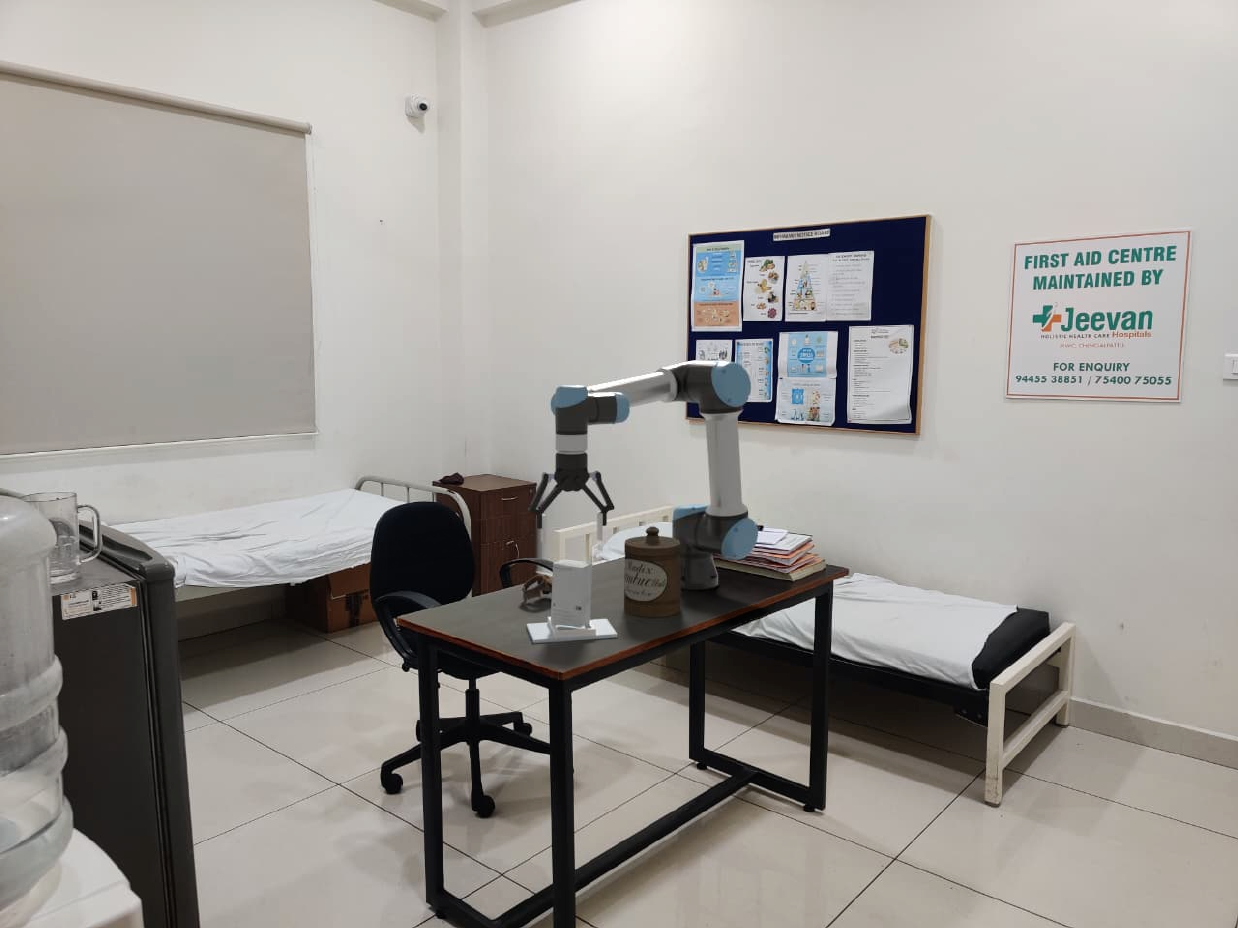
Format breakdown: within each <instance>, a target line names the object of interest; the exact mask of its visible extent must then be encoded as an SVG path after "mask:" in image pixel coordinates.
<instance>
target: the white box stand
mask: <svg viewBox="0 0 1238 928" xmlns="http://www.w3.org/2000/svg"><path fill="white" fill-rule="evenodd" d="M526 629H527V631H528V634H529V636H530V638H531V641H532V643H533V644H541V643H554V642H555V643H556V642H557V643H558V642H570V641H584V640H594V639H595V640H597V639H612V638H618V633H617V631H616V629H615V628H614V627H613V625H612V624H611V623H610V621H609V620H608V618H596V619H595V618H594V619H590V622H588V623H587V624H585V625H584V626H582V627H581V628H578V627H573V626H565V625H558V624H551V616H547V622H537V623H536V622H534V623H526Z"/></svg>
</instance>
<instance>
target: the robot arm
mask: <svg viewBox="0 0 1238 928" xmlns="http://www.w3.org/2000/svg"><path fill="white" fill-rule="evenodd" d="M751 391H752V383H751V378H750V376H749V373H748V371H747V370H746V369H745V368H744V367H743V366H742V364H740V363H737V362H735V361H729V360H702V359H701V360H699V359H695V360H690V361H685V362H680V363H677V364H673V365H669V366H666V367H661V368H660V367H659V368H658V369H657V370H656V371H655V372H654V373H650V374H644V375H640V376H635V377H629V378H626V379H625V378H624V379H620V380H616V381H611V382H606V383H601V384H597V385H596V384H595V385H591V386H586V385H571V384H570V385H560V386H558V387H556V390H555V393H554V394H553V395H552V396H551V399H550V410H551V412H552V414H553V415H554V417H555V418H554V419H555V420H554V421H555V422H554V423H555V451H557V452H556V453H555V470H554V473H547V472H545V471H543V472H542V474H541V480H540V483H539V485H538V488H537V490H536V492H535V493H534V495H533V498H532V500H531V501H530V504H529V506H528V508H527V510H528V511H529V513H531V514H534V515H535V520H536V521H535V522H536V523H535V524H536V525H535V526H536V529H538V530H540V542H541V543H542V544H546V543H547V541H546V540H547V539H546V535H547V534H546V531H547V530H546V522H547V521H546V514H545V513H544V512H546V510H547V509H548V508H549V506H551V504H552V503H553V501H555V499H557V497H558V496H559V495H560V494H561V493H562V492H565V493H569V492H575V493H576V492H578V493H579V492H580V491H581V490H582V491H583V492H584V493H585V494H586V495H587V496H588V498H589V499H591V501H592V503H594V504H595V506H596V507H597V508H598V510H599V511H596V539H597V540H598V541H601V542H602V541H603V529H604V528H603V527H606V526H607V523H608V521H607V520H608V519H607V517H608V512H610V511H613V510H615V507H616V506H615V505H614V503H613V501H612V499H611V497H610V495H609V493H608V491H607V489H606V487H605V484H604V482H603V481H602V479H603V478H602V473H601V472H600V471H598V470H595V471H592V472H589V470H588V465H589V464H588V461H589V459H588V453H587V452H586V451H587V450H588V449H589V448H588V447H589V446H588V445H589V444H588V439H589V436H588V433H589V431H588V428H589V426H593V425H594V426H595V425H597V426H598V425H616V424H621V423H623V422H625V421H627V420H628V418H629V416H630V412H631V410H630V409H631V408H634V407H638V406H642V405H647V404H652V403H656V402H662V403H664V404H668V403H674V402H682V403H683V402H685V403H692V404H693V403H694V404H698V408H699V410H698V411H699V414H700V416H702V417H703V418H704V419H705V434H706V446H707V447H706V450H707V451H706V452H707V463H708V464H707V465H708V481H709V498H710V501H709V503H695V504H694V503H693V504H685V505H684V504H683V505H680V506H679V505H678V506H675V508H674V509H673V513H672V520H671V521H672V524H671V525H672V527H671V528H672V529H671V530H672V534H671V535H672V536H671V538H675V539H677V540H679V541H680V567H681V590H690V591H692V590H693V591H701V590H709V589H713V588H715V587H717V586H718V585H719V574H718V571H717V569H716V564H715V561H714V557H713V555H716V556H720V557H723V558H725V559H733V560H740V559H741V560H742V559H744V558H746V557H747V556H749V554H750V553H752V551H753V550H754V548H755V547H756V544H757V541H758V538H759V528H758V525H757V523H756V521H754V520H753V519H752V518H749V508H748V506H747V505H746V504H745V503H743V498H742V497H743V496H742V479H741V478H742V476H741V461H740V460H741V459H740V458H741V457H740V439H739V421H738V420H739V419H738V417H739V415H741V413H742V412H743V411H744V407H743V405H745V404H746V403H747V402H748V400H749V396H750V395H751ZM590 479H591V480H592V481H594V482H595V484H596V487H597V488H598V490H599V493H600V494H601V496H602V498H603V501H604V502H605V505H604V504H603V503H602V502H601V501H600V499H599V498H598V497H597V496H596V495H595V493H594V492H593V491H592V490H591V489H590V488H589V487H588V486H587V482H588V481H589V480H590ZM552 480H554V481H555V483H556V484H555V485H554V487H553V489H552V490H551V491H550V493H549V494H548V495H547V496H546V497H545V499H544V500H543V501H542V502H541V500H542V497H543V495H544V493H545V491H546V490H547V487H548V484H549V483H551V482H552ZM540 502H541V503H540ZM539 503H540V505H539ZM538 505H539V506H538Z"/></svg>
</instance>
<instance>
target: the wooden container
mask: <svg viewBox="0 0 1238 928" xmlns="http://www.w3.org/2000/svg"><path fill="white" fill-rule="evenodd" d="M659 533H660V529H659V528H658V527H656V526H653V525H652V526H649V527H647V528H646V530H645V534H646V535H643V536H642V535H641V536H634V537H631V538H627V539H626V540H624V552H623V553H624V571H623V573H624V575H623V577H624V578H623V608H624V609H623V610H624V611H625V612H627V613H628V614H631V615H633V616H638V617H641V618H642V617H643V618H665V617H669V616H673V615H676V614H678V613H679V612H680V611H681V597H682V596H681V594H682V589H681V567H680V541H679V540H677V539H675V538H672V536H671V537H670V536H663V535H660V534H659Z"/></svg>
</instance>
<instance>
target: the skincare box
mask: <svg viewBox="0 0 1238 928" xmlns="http://www.w3.org/2000/svg"><path fill="white" fill-rule="evenodd" d="M592 579H593V563H592V562H587V561H580V560H572V559H566V558H565V559H564V558H563V559H560V560H557V561H556V562H553V564H552V579H551V580H552V594H551V603H550V604H551V605H550V617H551V624H558V625H565V626H573V627H578V628H581V627H582V626H584V625H585V624H587V623H588V622H590V620H591V607H592V604H591V603H592V602H591V601H592V585H593V584H592V581H593V580H592Z"/></svg>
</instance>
